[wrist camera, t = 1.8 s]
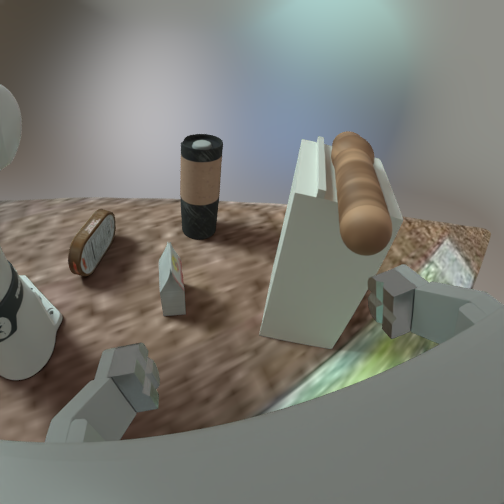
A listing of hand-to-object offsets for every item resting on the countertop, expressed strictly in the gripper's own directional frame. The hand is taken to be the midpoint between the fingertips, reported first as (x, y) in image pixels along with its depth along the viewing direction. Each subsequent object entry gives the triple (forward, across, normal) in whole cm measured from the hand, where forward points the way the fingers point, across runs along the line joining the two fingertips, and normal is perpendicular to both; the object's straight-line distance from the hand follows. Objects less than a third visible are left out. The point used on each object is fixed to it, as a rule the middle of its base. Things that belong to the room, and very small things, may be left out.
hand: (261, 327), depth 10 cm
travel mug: (+55, +5, +14) cm, 57 cm away
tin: (+47, +26, +11) cm, 55 cm away
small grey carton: (+38, +12, +19) cm, 44 cm away
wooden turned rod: (+21, -14, +3) cm, 25 cm away
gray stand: (+36, -9, +25) cm, 45 cm away
